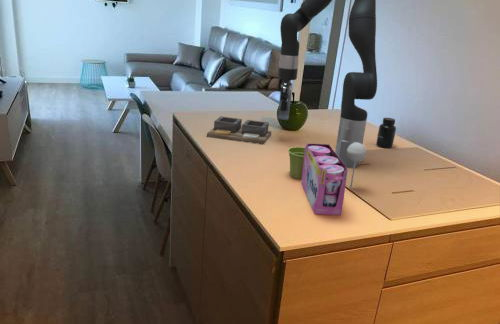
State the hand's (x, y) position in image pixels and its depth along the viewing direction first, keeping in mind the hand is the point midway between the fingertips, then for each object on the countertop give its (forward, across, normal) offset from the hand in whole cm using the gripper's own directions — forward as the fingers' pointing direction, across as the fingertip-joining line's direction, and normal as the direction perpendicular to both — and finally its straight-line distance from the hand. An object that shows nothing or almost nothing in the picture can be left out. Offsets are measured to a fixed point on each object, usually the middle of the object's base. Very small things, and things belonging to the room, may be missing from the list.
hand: (284, 109), depth 182 cm
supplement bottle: (+14, +12, -42) cm, 46 cm away
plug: (+4, 0, 0) cm, 4 cm away
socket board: (+13, 0, +18) cm, 22 cm away
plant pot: (+14, -37, -11) cm, 42 cm away
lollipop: (+14, -42, -28) cm, 52 cm away
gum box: (+15, -53, -19) cm, 59 cm away
